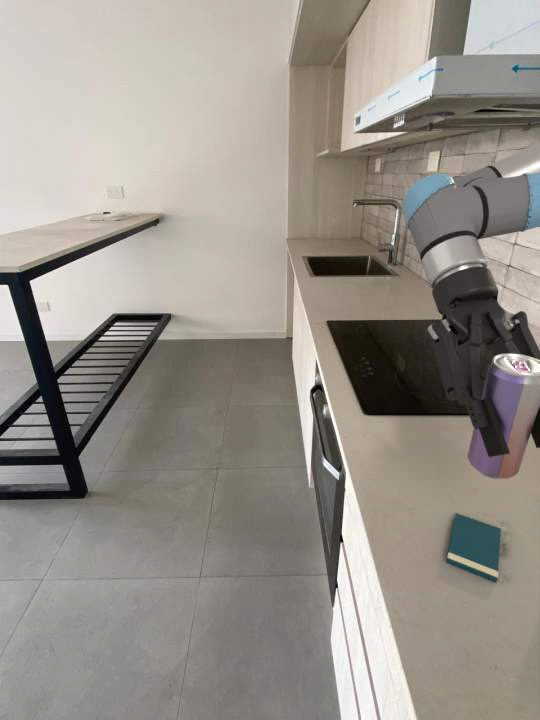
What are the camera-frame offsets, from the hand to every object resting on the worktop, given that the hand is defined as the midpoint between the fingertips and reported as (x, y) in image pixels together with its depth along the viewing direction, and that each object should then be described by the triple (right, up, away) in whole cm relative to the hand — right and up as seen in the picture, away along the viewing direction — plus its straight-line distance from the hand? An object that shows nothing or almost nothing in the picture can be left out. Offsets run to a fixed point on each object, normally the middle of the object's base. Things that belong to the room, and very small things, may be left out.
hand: (523, 450), depth 46 cm
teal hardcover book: (-1, -16, +9) cm, 18 cm away
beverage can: (-1, -4, +6) cm, 7 cm away
